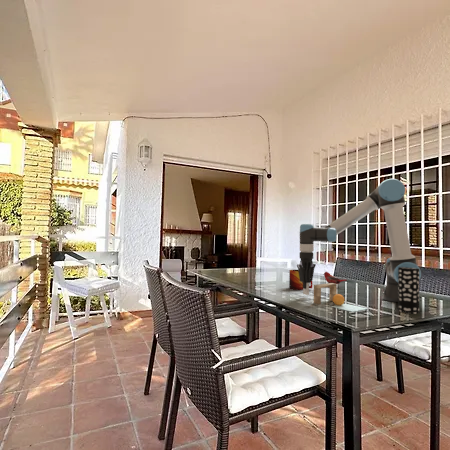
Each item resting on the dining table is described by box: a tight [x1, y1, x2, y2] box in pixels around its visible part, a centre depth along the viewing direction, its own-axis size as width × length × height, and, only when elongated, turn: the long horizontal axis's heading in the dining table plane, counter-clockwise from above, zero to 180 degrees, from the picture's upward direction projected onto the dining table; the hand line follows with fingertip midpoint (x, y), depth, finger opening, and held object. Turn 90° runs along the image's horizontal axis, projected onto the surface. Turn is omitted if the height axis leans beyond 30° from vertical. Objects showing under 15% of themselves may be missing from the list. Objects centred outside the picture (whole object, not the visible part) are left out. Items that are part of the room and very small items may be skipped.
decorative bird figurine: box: [323, 271, 347, 285], centre depth 207 cm, size 3×18×10 cm, turn 42°
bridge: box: [313, 282, 338, 305], centre depth 158 cm, size 3×14×9 cm, turn 123°
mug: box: [288, 269, 313, 291], centre depth 198 cm, size 10×14×12 cm
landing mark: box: [330, 303, 368, 313], centre depth 146 cm, size 12×12×1 cm
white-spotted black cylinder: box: [397, 267, 420, 315], centre depth 141 cm, size 8×8×20 cm
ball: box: [332, 293, 345, 305], centre depth 151 cm, size 6×6×6 cm
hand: (306, 294), depth 168 cm, fingers closed
